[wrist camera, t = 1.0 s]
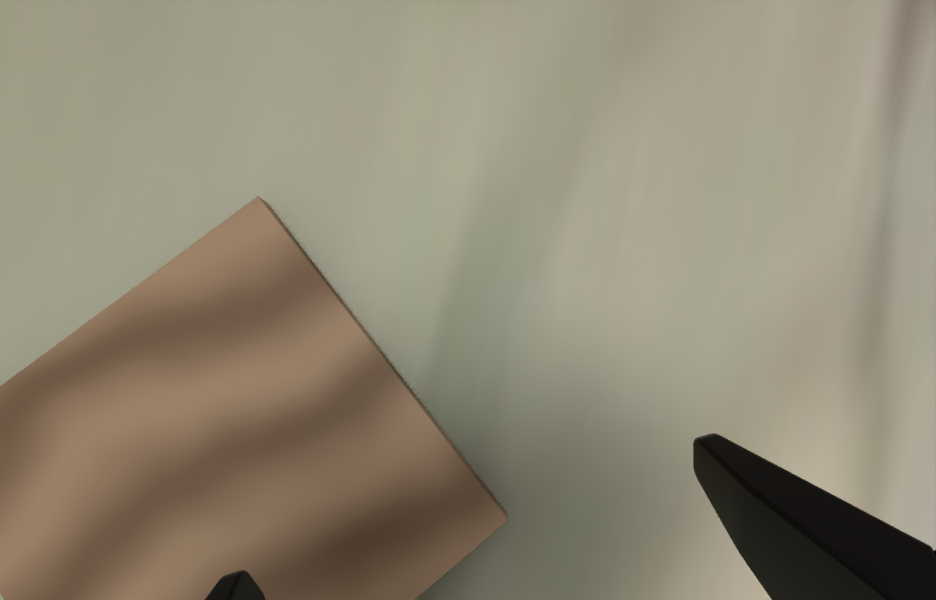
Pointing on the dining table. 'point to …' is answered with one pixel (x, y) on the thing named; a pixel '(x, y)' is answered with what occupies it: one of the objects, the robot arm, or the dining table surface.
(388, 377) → the walnut board
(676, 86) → the dining table surface
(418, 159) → the dining table surface
